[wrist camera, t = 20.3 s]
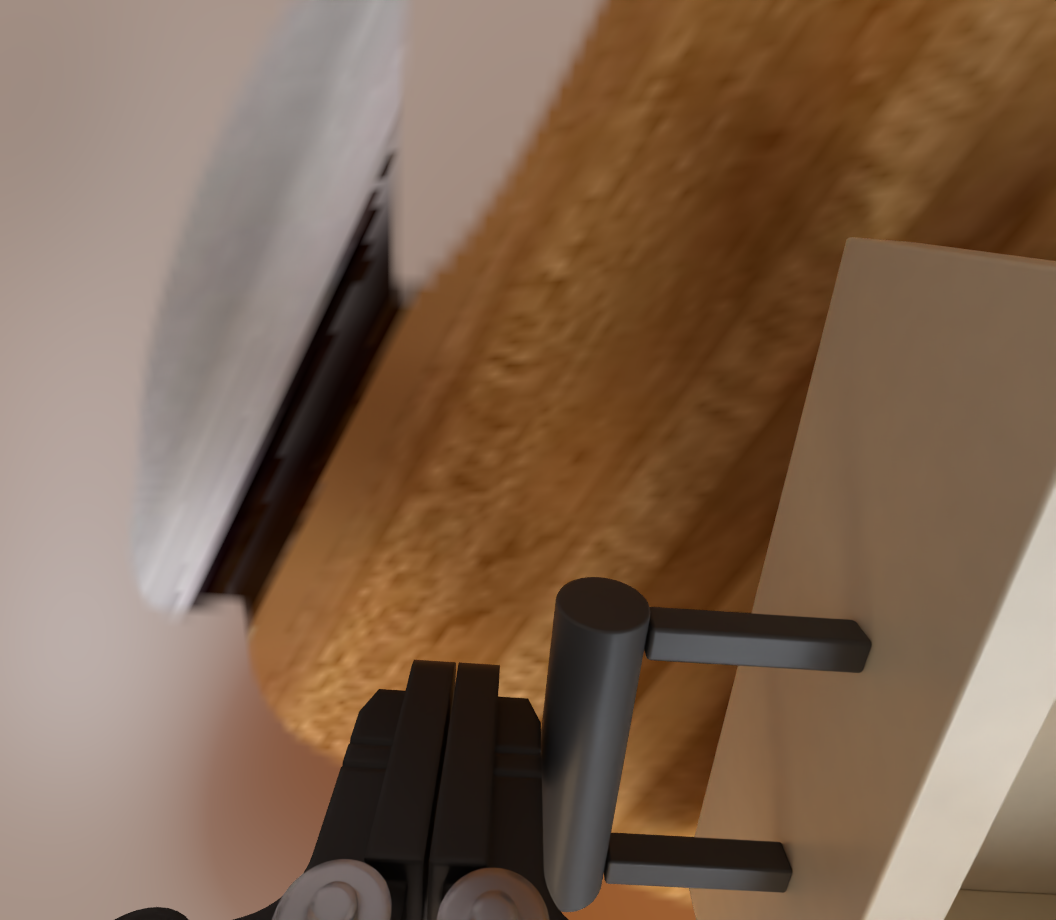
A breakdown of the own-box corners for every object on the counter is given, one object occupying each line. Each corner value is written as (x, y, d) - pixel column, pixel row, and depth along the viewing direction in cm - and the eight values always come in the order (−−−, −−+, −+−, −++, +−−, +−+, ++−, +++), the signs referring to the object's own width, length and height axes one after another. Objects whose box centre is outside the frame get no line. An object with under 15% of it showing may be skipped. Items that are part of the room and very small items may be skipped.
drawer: (512, 862, 17) (504, 1163, 12) (575, 214, 11) (620, 236, 6) (1165, 897, 18) (1438, 1200, 12) (1586, 297, 11) (2508, 388, 6)
